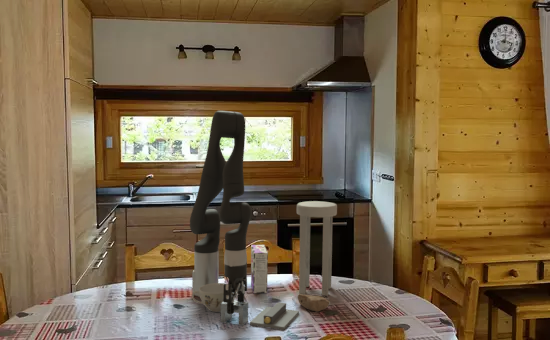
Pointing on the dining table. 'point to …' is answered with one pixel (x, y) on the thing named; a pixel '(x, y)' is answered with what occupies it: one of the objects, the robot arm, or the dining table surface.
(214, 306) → the teacup
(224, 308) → the grey arch block
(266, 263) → the candy box
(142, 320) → the dining table surface
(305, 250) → the stool
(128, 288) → the dining table surface
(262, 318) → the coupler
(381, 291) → the dining table surface
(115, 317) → the dining table surface
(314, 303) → the stone
